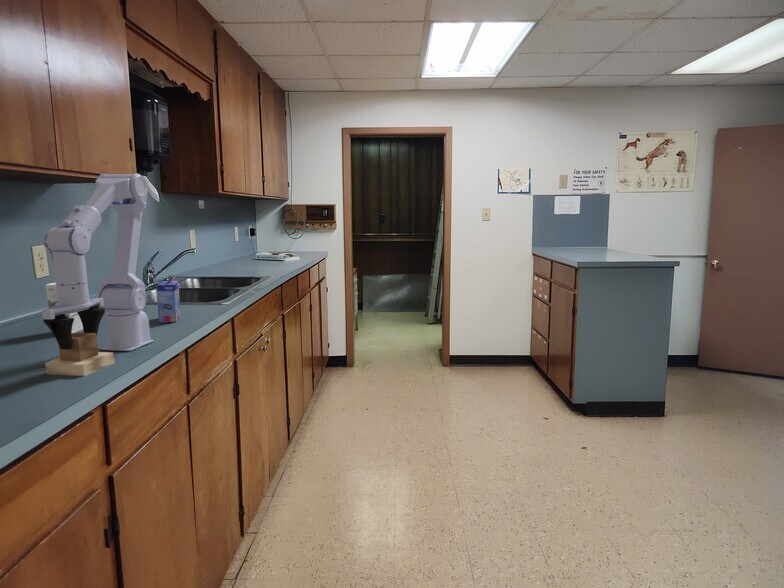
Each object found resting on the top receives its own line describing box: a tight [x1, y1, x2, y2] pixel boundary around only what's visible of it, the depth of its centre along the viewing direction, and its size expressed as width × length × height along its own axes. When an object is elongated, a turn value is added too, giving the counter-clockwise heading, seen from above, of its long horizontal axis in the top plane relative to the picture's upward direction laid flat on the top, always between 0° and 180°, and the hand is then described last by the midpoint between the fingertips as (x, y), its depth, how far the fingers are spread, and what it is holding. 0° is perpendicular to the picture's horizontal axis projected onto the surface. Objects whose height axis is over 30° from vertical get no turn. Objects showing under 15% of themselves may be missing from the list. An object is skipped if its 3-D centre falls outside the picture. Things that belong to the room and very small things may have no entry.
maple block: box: [44, 351, 115, 377], centre depth 106 cm, size 9×9×3 cm
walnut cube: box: [58, 331, 99, 361], centre depth 105 cm, size 5×5×5 cm
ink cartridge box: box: [156, 274, 181, 324], centre depth 153 cm, size 10×6×14 cm, turn 17°
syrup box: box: [45, 281, 84, 335], centre depth 137 cm, size 6×6×14 cm
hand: (78, 344), depth 105 cm, fingers open, 6 cm apart
